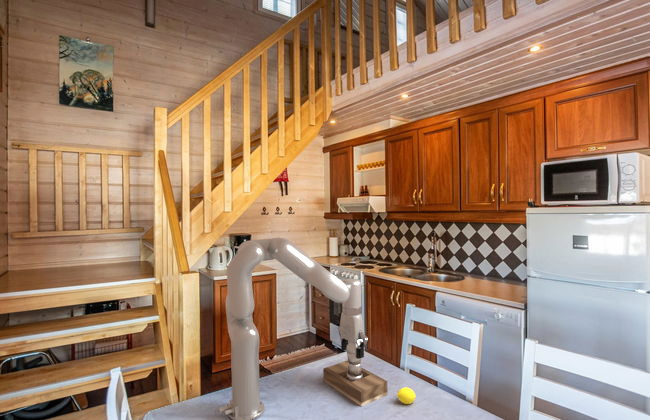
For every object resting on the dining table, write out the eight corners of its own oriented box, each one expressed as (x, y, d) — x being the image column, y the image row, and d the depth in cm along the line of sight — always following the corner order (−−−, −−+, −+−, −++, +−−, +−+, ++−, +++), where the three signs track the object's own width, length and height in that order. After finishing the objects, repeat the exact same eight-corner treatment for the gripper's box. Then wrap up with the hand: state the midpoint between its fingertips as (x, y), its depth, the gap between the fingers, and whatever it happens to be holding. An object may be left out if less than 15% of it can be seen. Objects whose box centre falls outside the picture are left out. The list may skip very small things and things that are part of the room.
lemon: (412, 399, 131) (414, 385, 131) (417, 407, 126) (418, 392, 126) (394, 398, 131) (395, 383, 131) (397, 406, 125) (399, 391, 125)
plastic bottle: (363, 381, 142) (362, 331, 143) (363, 390, 136) (362, 338, 136) (347, 381, 143) (346, 331, 143) (346, 389, 136) (345, 337, 136)
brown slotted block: (361, 406, 127) (361, 391, 127) (323, 380, 146) (323, 368, 146) (387, 394, 134) (387, 381, 134) (348, 372, 154) (348, 360, 154)
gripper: (331, 307, 145) (331, 349, 145) (358, 317, 131) (359, 363, 131) (345, 304, 150) (346, 345, 149) (373, 313, 135) (374, 358, 135)
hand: (352, 353), depth 140 cm, fingers open, 9 cm apart
